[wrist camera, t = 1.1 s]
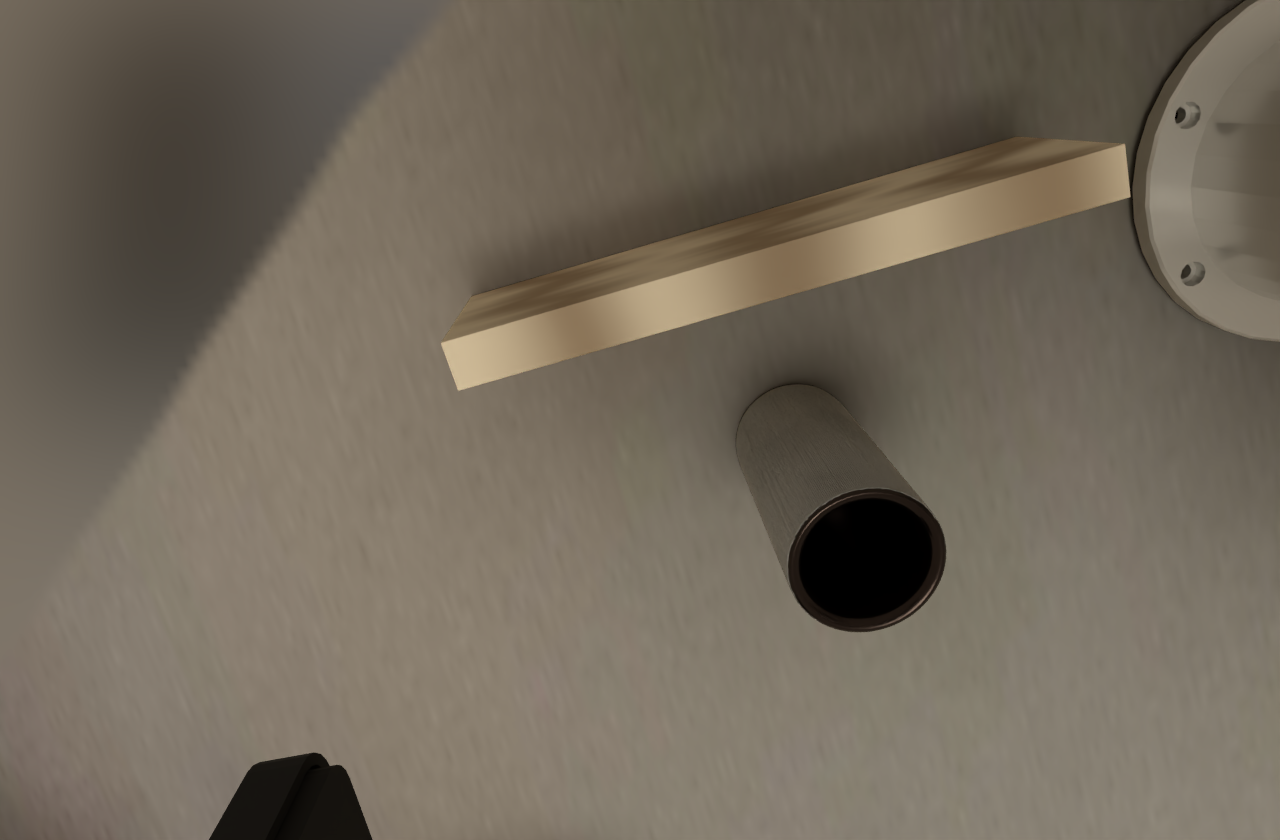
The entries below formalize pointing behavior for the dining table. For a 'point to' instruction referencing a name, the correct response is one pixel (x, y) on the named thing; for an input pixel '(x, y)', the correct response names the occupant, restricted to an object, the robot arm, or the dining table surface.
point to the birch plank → (780, 253)
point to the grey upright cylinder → (838, 512)
